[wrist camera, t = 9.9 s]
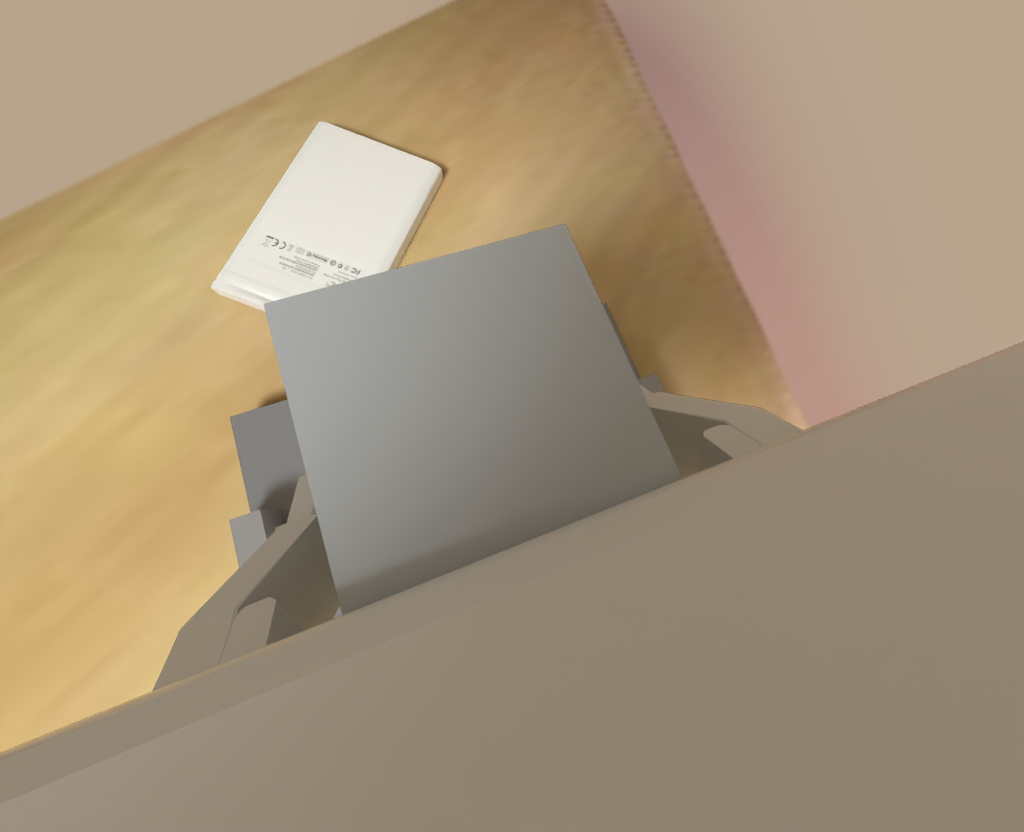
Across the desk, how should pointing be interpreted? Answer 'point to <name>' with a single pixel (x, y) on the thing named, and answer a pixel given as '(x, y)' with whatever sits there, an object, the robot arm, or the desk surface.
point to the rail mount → (293, 466)
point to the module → (460, 410)
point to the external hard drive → (331, 218)
